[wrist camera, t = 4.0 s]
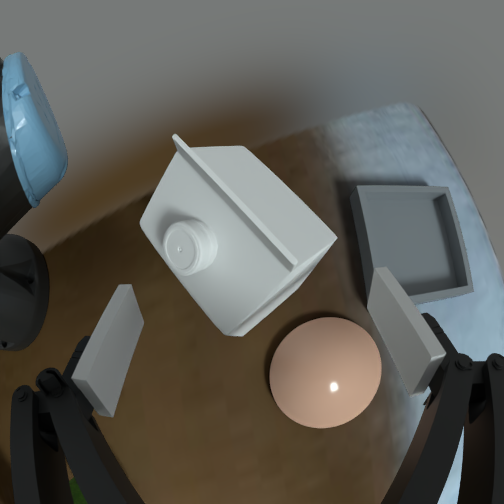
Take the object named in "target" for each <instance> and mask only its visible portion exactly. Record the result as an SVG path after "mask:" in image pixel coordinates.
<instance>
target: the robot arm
mask: <svg viewBox="0 0 504 504" xmlns="http://www.w3.org/2000/svg"><path fill="white" fill-rule="evenodd" d="M67 165H68V156H67V150H66V147H65V143H64V141H63V137H62V135H61V132H60V130H59V127H58V125H57V122H56V120H55V118H54V114H53V112H52V110H51V108H50V105H49V103H48V100H47V98H46V96H45V93H44V91H43V89H42V86H41V84H40V82H39V80H38V78H37V76H36V74H35V72H34V70H33V68H32V66H31V65H30V64H29V62H28V60H27V57H26V56H25V55H24V54H23V53H21V52H17V53H14V54H13V55H11V54H10V55H9V56H7V57H6V58H5V60H4V61H3V60H2V59H1V58H0V349H1V350H7V351H19V350H22V349H24V348H26V347H28V346H29V345H30V344H31V343H32V342H33V341H34V340H35V338H36V337H37V335H38V333H39V332H40V330H41V327H42V325H43V322H44V319H45V316H46V312H47V307H48V299H49V278H48V271H47V266H46V263H45V260H44V257H43V255H42V253H41V252H40V250H39V249H38V248H37V246H36V245H35V244H33V243H32V242H30V241H29V240H27V239H25V238H23V237H21V236H18V235H14V234H7V233H8V231H9V230H10V229H11V228H12V227H13V226H14V225H15V224H16V223H17V222H18V221H19V220H20V219H21V218H22V217H23V216H24V215H25V214H26V213H27V212H28V211H29V210H30V209H31V208H32V207H33V208H36V207H37V206H38V205H39V203H40V200H41V199H42V198H43V197H44V196H45V195H46V194H47V193H48V192H49V191H50V190H51V189H52V188H53V187H54V186H55V185H56V184H57V183H58V182H59V181H60V180H61V179H62V178H63V176H64V174H65V172H66V170H67ZM367 309H368V311H369V313H370V315H371V317H372V319H373V321H374V323H375V325H376V327H377V329H378V331H379V333H380V335H381V337H382V339H383V341H384V343H385V345H386V347H387V349H388V351H389V353H390V355H391V357H392V359H393V361H394V363H395V366H396V368H397V370H398V372H399V374H400V376H401V379H402V381H403V383H404V385H405V387H406V390H407V392H408V394H409V396H410V397H413V396H417V395H420V394H423V393H424V392H425V390H426V389H427V387H428V386H429V388H430V390H431V393H430V394H429V396H428V397H427V399H426V401H425V402H424V404H423V405H425V404H426V406H425V409H424V412H423V414H422V417H421V420H420V422H419V425H418V428H417V430H416V433H415V435H414V438H413V440H412V442H411V445H410V447H409V449H408V452H407V454H406V456H405V458H404V460H403V463H402V465H401V467H400V469H399V471H398V473H397V475H396V477H395V479H394V481H393V483H392V484H391V486H390V488H389V490H388V492H387V494H386V495H385V497H384V499H383V501H382V502H381V504H437V503H438V500H439V498H440V496H441V493H442V491H443V488H444V486H445V483H446V481H447V478H448V475H449V473H450V470H451V467H452V464H453V461H454V458H455V455H456V452H457V448H458V445H459V441H460V438H461V434H462V430H463V426H464V445H463V461H462V472H461V481H460V489H459V496H458V502H457V504H504V357H503V356H502V355H500V354H497V353H493V354H491V355H489V357H488V358H487V360H486V361H472V359H471V358H470V357H469V356H467V355H465V354H461V353H458V352H457V350H456V349H455V347H454V346H453V344H452V343H451V341H450V340H449V338H448V337H447V335H446V334H445V333H444V331H443V329H442V328H441V327H440V325H439V324H438V322H437V321H436V319H435V318H434V317H432V316H431V315H430V314H428V313H423V314H420V312H419V311H418V309H417V308H416V306H415V305H414V303H413V302H412V301H411V299H410V298H409V296H408V295H407V294H406V292H405V291H404V289H403V288H402V287H401V285H400V284H399V283H398V281H397V280H396V279H395V277H394V276H393V275H392V273H391V272H390V271H389V269H388V268H387V267H380V268H374V273H373V279H372V284H371V289H370V294H369V299H368V304H367ZM143 325H144V321H143V318H142V315H141V312H140V309H139V306H138V304H137V301H136V298H135V295H134V291H133V288H132V285H131V284H125V285H119V286H118V287H117V289H116V291H115V293H114V294H113V296H112V298H111V300H110V302H109V303H108V305H107V307H106V309H105V311H104V313H103V315H102V316H101V318H100V320H99V322H98V324H97V326H96V328H95V330H94V332H93V334H92V336H85V337H84V338H83V339H82V340H81V341H80V342H79V343H78V345H77V347H76V349H75V352H73V354H72V356H71V358H70V360H69V362H68V365H67V367H66V369H65V371H64V373H63V375H61V374H60V372H59V371H58V370H57V369H55V368H47V369H45V370H43V371H42V372H40V374H39V375H38V376H37V379H36V386H37V387H38V388H39V389H40V391H38V392H34V391H33V390H32V389H31V387H30V386H27V385H22V386H20V387H18V388H17V389H16V390H15V392H14V393H13V396H12V405H11V426H10V452H11V472H12V484H13V492H14V500H15V504H74V502H73V497H72V493H71V489H70V484H69V479H68V474H67V468H66V462H65V457H66V459H67V462H68V464H69V466H70V469H71V471H72V473H73V475H74V478H75V480H76V482H77V484H78V486H79V488H80V490H81V492H82V494H83V496H84V498H85V500H86V502H87V504H145V503H144V502H143V500H142V499H141V497H140V496H139V495H138V493H137V492H136V490H135V489H134V487H133V486H132V484H131V483H130V481H129V480H128V478H127V476H126V475H125V473H124V472H123V470H122V468H121V467H120V465H119V463H118V462H117V460H116V458H115V456H114V455H113V453H112V451H111V449H110V448H109V446H108V444H107V442H106V440H105V438H104V436H103V434H102V432H101V431H100V429H99V427H98V424H97V422H96V420H95V418H94V417H93V416H92V412H93V409H95V410H96V412H97V413H98V414H99V415H103V416H109V417H113V416H114V413H115V409H116V406H117V402H118V399H119V396H120V393H121V389H122V386H123V383H124V380H125V377H126V374H127V371H128V368H129V365H130V362H131V359H132V356H133V353H134V350H135V347H136V344H137V341H138V339H139V336H140V333H141V330H142V327H143ZM64 454H65V456H64Z"/></svg>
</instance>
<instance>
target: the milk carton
mask: <svg viewBox="0 0 504 504" xmlns="http://www.w3.org/2000/svg"><path fill="white" fill-rule="evenodd" d="M172 138H173V141H174V143H175V145H176V148H177V152H176V154H175V156H174V157H173V159H172V161H171V162H170V164H169V166H168V168H167V170H166V171H165V173H164V175H163V177H162V179H161V181H160V183H159V184H158V186H157V188H156V190H155V192H154V194H153V196H152V198H151V200H150V202H149V204H148V206H147V208H146V210H145V212H144V214H143V216H142V218H141V220H140V226H141V228H142V230H143V231H144V233H145V235H146V236H147V238H148V239H149V240H150V242H151V243H152V245H153V246H154V247H155V249H156V250H157V252H158V253H159V254H160V256H161V257H162V258H163V260H164V261H165V262H166V264H167V265H168V266H169V268H170V269H171V270H172V272H173V273H174V274H175V276H176V277H177V278H178V279H179V281H180V282H181V283H182V285H183V286H184V287H185V288H186V290H187V291H188V292H189V294H190V295H191V296H192V297H193V299H194V300H195V301H196V302H197V304H198V305H199V306H200V307H201V309H202V310H203V311H204V312H205V314H206V315H207V316H208V317H209V318H210V320H211V321H212V322H213V323H214V324H215V325H216V326H217V328H218V329H219V330H220V331H221V332H222V333H223V334H224V335H228V336H244V335H245V334H246V333H247V332H248V331H249V330H251V329H252V328H253V327H254V326H255V325H257V324H258V323H259V322H260V321H261V320H262V319H264V318H265V317H266V316H267V315H268V314H269V313H271V312H272V311H273V310H274V309H275V308H276V307H278V306H279V305H280V304H281V303H282V302H283V301H284V300H285V299H287V298H288V297H289V296H290V295H291V294H292V293H293V292H294V291H296V290H297V289H298V288H299V286H300V285H301V284H302V283H303V281H304V280H305V279H306V278H307V276H308V275H309V274H310V272H311V271H312V270H313V269H314V267H315V266H316V265H317V264H318V262H319V261H320V260H321V258H322V257H323V256H324V255H325V253H326V252H327V251H328V249H329V248H330V247H331V245H332V244H333V243H334V241H335V240H336V239H337V237H336V235H335V234H334V233H333V232H332V231H331V230H330V229H329V228H328V227H327V226H326V225H325V224H324V223H323V222H322V220H321V219H320V218H319V217H318V216H317V215H316V214H315V213H314V212H313V211H312V210H311V209H310V208H309V207H308V206H307V205H306V204H305V203H304V202H303V201H302V200H301V199H300V198H299V197H298V196H297V195H296V194H295V193H293V192H292V191H291V190H290V189H289V188H288V187H287V186H286V185H285V184H284V183H283V182H282V181H281V180H280V179H279V178H278V177H277V176H276V175H275V174H274V173H273V172H272V171H270V170H269V169H268V168H267V167H266V166H265V165H264V164H263V163H262V162H261V161H260V160H259V159H258V158H256V157H255V156H254V155H253V154H252V153H251V152H250V151H249V150H248V149H246V148H245V147H244V146H218V147H196V148H189V147H188V146H187V145H186V144H185V143H184V142H183V141H182V140H181V139H180V138H179V137H178V136H177V135H176V134H174V135H173V136H172Z"/></svg>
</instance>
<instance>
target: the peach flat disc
mask: <svg viewBox="0 0 504 504" xmlns="http://www.w3.org/2000/svg"><path fill="white" fill-rule="evenodd" d="M380 378H381V359H380V354H379V351H378V348H377V346H376V344H375V342H374V340H373V339H372V338H371V336H370V335H369V334H368V333H367V332H366V331H365V330H364V329H363V328H362V327H360V326H359V325H357V324H355V323H353V322H351V321H349V320H346V319H342V318H335V317H325V318H318V319H315V320H311V321H308V322H306V323H304V324H302V325H300V326H298V327H297V328H295V329H294V330H292V331H291V332H290V333H289V334H288V335H287V336H286V337H285V338H284V339H283V340H282V341H281V343H280V344H279V346H278V347H277V349H276V351H275V353H274V355H273V358H272V361H271V366H270V374H269V379H270V387H271V391H272V394H273V397H274V399H275V401H276V403H277V405H278V406H279V408H280V409H281V410H282V411H283V412H284V413H285V414H286V415H287V416H288V417H289V418H291V419H292V420H293V421H295V422H297V423H299V424H302V425H305V426H308V427H313V428H329V427H334V426H338V425H341V424H344V423H346V422H348V421H350V420H351V419H353V418H355V417H356V416H357V415H359V414H360V413H361V412H362V411H363V410H364V409H365V408H366V407H367V406H368V405H369V403H370V402H371V400H372V399H373V397H374V395H375V393H376V391H377V389H378V386H379V383H380Z"/></svg>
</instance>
